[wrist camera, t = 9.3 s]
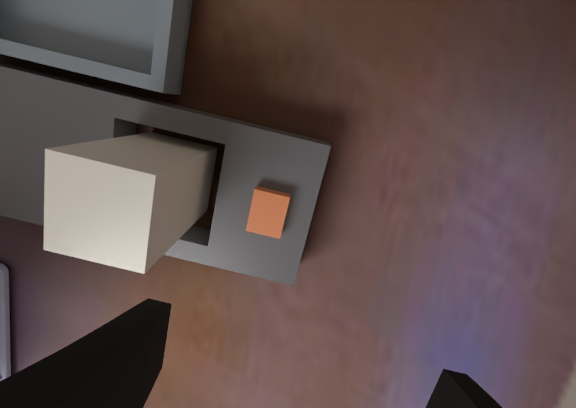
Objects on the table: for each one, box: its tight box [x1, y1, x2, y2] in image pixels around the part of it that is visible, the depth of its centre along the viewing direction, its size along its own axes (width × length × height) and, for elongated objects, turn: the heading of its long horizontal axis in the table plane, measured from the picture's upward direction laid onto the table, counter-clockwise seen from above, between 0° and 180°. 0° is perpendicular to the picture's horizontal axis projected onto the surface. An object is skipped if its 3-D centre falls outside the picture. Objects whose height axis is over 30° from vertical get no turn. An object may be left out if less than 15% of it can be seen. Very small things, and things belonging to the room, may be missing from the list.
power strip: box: [0, 62, 331, 286], centre depth 16 cm, size 7×25×3 cm, turn 77°
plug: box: [44, 132, 218, 274], centre depth 14 cm, size 3×3×7 cm
